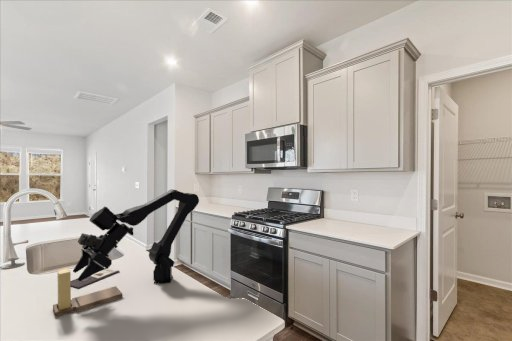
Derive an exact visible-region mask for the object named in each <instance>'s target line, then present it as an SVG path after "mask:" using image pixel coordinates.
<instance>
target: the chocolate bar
mask: <svg viewBox="0 0 512 341" xmlns="http://www.w3.org/2000/svg"><path fill="white" fill-rule="evenodd" d="M104 268H105V267H104ZM116 274H120V270H116V269H113V268H110V267H109V268H108V269H106V268H105V270H101V271H99V272H97V273H95V274H93V275H91V276H89V277H87V278H85V279H84V280H82V281H79V280H78V278H79V277H78V278H75V279H72V280H71V288H75V289H77V290H79V289H82V288H84V287H88V286H89V285H91V284H93V283H97V282H100V281H101V280H104V279H105V278H109V277H111V276H114V275H116Z"/></svg>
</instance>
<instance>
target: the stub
mask: <svg viewBox="0 0 512 341" xmlns="http://www.w3.org/2000/svg"><path fill="white" fill-rule="evenodd" d="M71 281H72V280H71V271H70V268H69V267H68V268H63V269H60V270H57V304H58V311H59V310H62V309H65V308H69V307H71V300H72V298H71V297H72V294H71V292H72V291H71V290H72V287H71Z"/></svg>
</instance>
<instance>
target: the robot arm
mask: <svg viewBox="0 0 512 341" xmlns="http://www.w3.org/2000/svg"><path fill="white" fill-rule="evenodd" d="M173 201H178V208H177V211H176V212H175V214H174V216H173V218H172V219H171V221H170V223H169V226H168V227H167V229H166V231H165V232H164V234H163V236H162V237H161V239H160V240H159V241H158V242H156V241H154V242H153V244H152V245H151V248H149V250H148V252H149V253H148V258H149V260H150V261H152V262H153V264H154V265H155V266H154V270H152V271H153V276H152V277H153V281H154V282H153V284H166V283H167V284H168V283H171V281H172V279H173V272H172V270H173V267H174V265H175V260H173V259H172V258H171V257H170V256H171V252H172V245H173V243H174V241H175V240H176V237H177V235H178V234H179V232H180V230H181V228H182V226H183V225H184V223H185V221H186V219H187V217H188V215H189V214H190V213H191V212H192V211H194V210H195V209H196V207H197V206H198V204H199V203H200V199H199V196H198V195H197V194H196V193H191V192H190V193H189V192H182V191H178V190H177V189H169V190H168V191H166V192H164V193H162V194H161V195H159V196H156V197H154V198H152V199H151V200H149V201H148V202H146V203H144V204H140V205H136V206H133V207H130V208H128V209H125V210H123V212H120V213H116V214H115V213H114V212H112V211H111V210H110V208H108V207H107V206H103V207H102V208H101V209H99V210H97V211H95V212H94V213H93V214H92V216H91V217H90V218H89V222H91V223H92V224H93V225H94V226H95V227H96V228H99V229H100V230H101V231H106V232H105V233H104V234H100V235H99V236H97V235H94V234H87V233H84V232H82V233H81V234H80V237H79V239H78V240H77V243H78V244H79V245H81V256H80V258H79V260H78V261H77V263H76V265H75V267H74V268H73V270H72V272H73V273H74V274H77V273H78V272H79V271H81V270H82V272H81V273H80V275H79V276H78V280H79V281H82V280H84V279H85V278H87V277H89V276H91V275H93V274H95V273H97V272H99V271H101V270H105V268H106V269H108V268H109V269H110V267H111V265H112V264H113V263H112V262H113V261H112V259H110V257H109V256H110V255H109V254H110V253H111V252H112V250H113V249H114V248H115V249H117V248H118V247H119V246H118V244H119V243H120V242H121V240H123V239H124V237H126V235H127V234H129V235H130V236H134V227H135V226H137V225H139V224H141V223H142V222H143V221H145V220H146V218H147V217H148V216H149V215H150V214H152V213H153V212H155V211H156V210H159V209H160V208H163V207H164V206H166V205H167V204H169V203H171V202H173ZM118 221H119V222H121V223H119V222H118ZM126 224H127V225H129V226H131V227H129V226H127V225H126Z"/></svg>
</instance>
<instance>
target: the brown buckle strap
mask: <svg viewBox="0 0 512 341" xmlns="http://www.w3.org/2000/svg"><path fill="white" fill-rule="evenodd" d="M122 298H123V293H122V291H121V290H120V289H119V288H118V287H117V286H116V285H115V286H112V287H107V288H104V289H101V290H100V289H99V290H97V291H93V292H90V293H87V294H83V295H79V296H75V297H73V298H71V307H69V308H65V309H62V310H59V311H58V303H54V304H53V305H52V310H53V314H54V318H58V317H61V316H64V315H67V314H71V313H73V312H76V313H77V312H81V311H83V310H87V309H90V308H93V307H96V306H100V305H103V304H106V303H110V302H112V301H115V300H118V299H122Z"/></svg>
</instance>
